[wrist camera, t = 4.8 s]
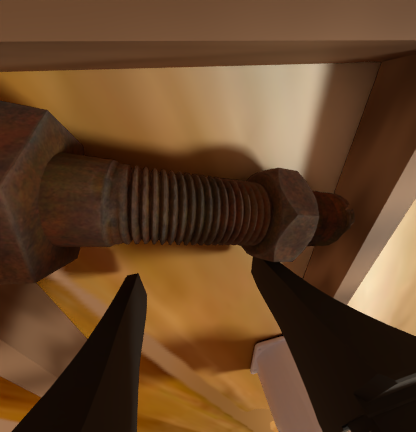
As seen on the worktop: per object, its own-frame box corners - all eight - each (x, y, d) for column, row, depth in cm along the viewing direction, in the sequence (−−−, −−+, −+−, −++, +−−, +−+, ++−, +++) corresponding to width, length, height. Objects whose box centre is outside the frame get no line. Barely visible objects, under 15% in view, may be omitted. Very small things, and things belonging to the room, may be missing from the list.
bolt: (286, 203, 14) (65, 179, 9) (345, 155, 10) (2, 70, 5) (315, 277, 11) (19, 297, 7) (414, 252, 7) (-196, 259, 2)
